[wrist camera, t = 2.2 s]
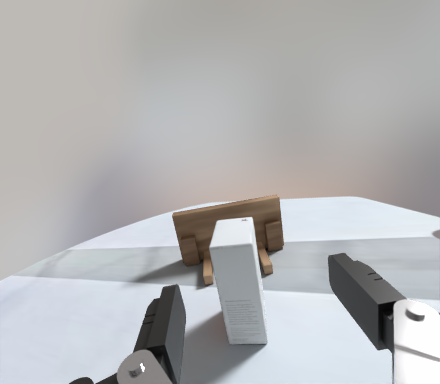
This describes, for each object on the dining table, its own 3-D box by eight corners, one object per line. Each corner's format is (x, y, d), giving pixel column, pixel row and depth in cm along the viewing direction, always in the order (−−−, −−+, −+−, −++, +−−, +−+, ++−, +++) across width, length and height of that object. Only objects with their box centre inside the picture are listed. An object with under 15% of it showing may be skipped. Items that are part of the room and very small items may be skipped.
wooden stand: (298, 268, 35) (294, 212, 32) (179, 289, 35) (165, 235, 32) (281, 240, 43) (276, 194, 41) (184, 258, 43) (173, 212, 40)
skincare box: (231, 303, 31) (216, 219, 27) (265, 301, 30) (253, 215, 26) (227, 346, 25) (207, 247, 21) (268, 346, 24) (254, 243, 21)
